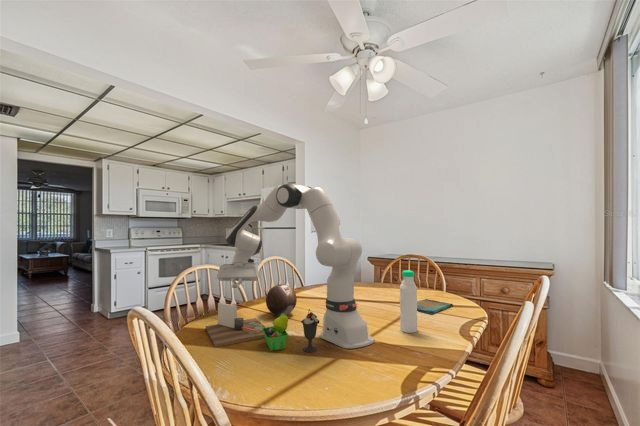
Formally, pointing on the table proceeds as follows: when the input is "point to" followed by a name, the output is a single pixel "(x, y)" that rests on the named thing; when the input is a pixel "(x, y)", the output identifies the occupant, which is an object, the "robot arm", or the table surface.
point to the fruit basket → (277, 333)
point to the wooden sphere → (281, 299)
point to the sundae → (310, 330)
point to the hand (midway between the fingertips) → (235, 287)
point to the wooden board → (235, 333)
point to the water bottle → (408, 303)
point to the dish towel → (431, 306)
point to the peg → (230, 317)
